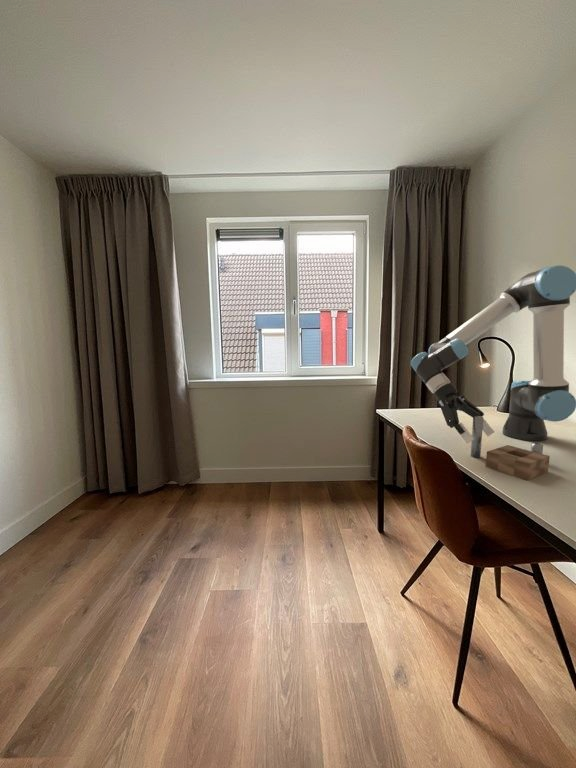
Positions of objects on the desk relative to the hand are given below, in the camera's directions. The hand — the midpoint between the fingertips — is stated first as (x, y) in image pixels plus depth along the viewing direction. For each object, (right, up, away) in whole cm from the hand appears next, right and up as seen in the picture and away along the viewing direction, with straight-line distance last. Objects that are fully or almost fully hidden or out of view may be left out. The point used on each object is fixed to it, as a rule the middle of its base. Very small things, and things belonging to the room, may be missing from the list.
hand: (481, 437), depth 113 cm
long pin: (-1, -7, +2) cm, 7 cm away
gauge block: (+6, -8, -9) cm, 13 cm away
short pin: (+16, -7, -3) cm, 18 cm away
